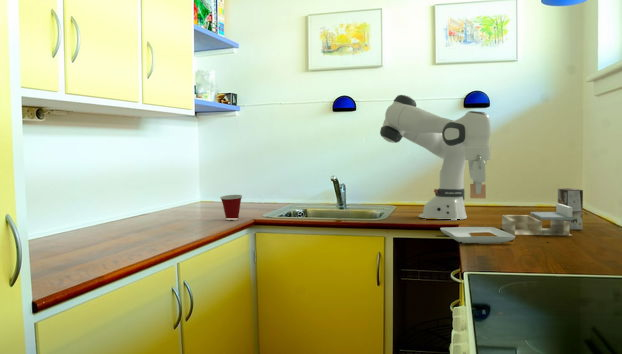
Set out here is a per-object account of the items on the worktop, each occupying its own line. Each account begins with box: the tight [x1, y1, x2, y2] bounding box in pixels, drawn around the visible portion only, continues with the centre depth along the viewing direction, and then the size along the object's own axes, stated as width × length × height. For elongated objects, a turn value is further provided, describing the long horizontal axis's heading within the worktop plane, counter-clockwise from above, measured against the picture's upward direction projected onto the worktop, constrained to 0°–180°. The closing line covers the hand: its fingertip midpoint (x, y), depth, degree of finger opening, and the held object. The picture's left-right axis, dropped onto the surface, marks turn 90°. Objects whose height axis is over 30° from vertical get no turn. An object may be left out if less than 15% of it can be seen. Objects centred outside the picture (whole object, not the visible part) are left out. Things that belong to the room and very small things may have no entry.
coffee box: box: [557, 188, 584, 230], centre depth 199 cm, size 9×6×16 cm
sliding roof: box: [529, 203, 573, 221], centre depth 185 cm, size 11×14×4 cm
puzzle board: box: [501, 214, 572, 236], centre depth 186 cm, size 22×14×6 cm
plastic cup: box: [219, 194, 243, 219], centre depth 237 cm, size 11×11×12 cm
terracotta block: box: [469, 183, 487, 199], centre depth 177 cm, size 5×5×5 cm
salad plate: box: [439, 226, 516, 244], centre depth 178 cm, size 21×21×3 cm
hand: (477, 192), depth 177 cm, fingers closed on terracotta block, 5 cm apart
